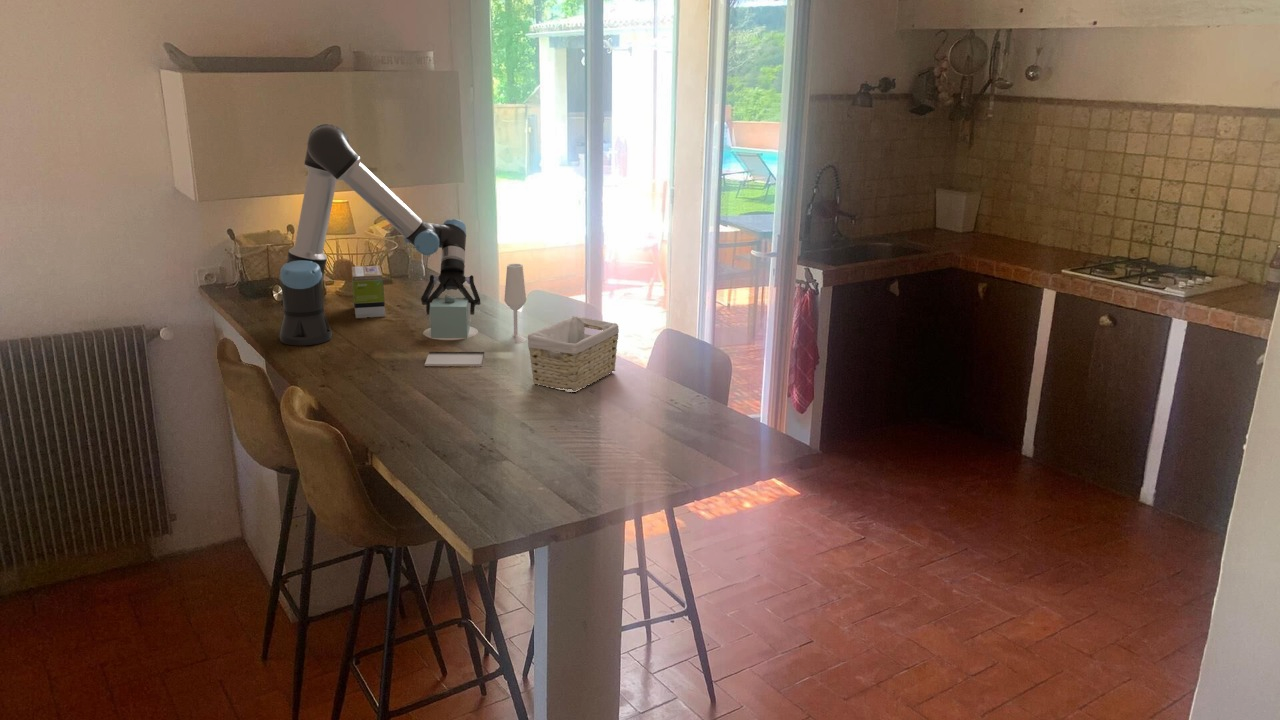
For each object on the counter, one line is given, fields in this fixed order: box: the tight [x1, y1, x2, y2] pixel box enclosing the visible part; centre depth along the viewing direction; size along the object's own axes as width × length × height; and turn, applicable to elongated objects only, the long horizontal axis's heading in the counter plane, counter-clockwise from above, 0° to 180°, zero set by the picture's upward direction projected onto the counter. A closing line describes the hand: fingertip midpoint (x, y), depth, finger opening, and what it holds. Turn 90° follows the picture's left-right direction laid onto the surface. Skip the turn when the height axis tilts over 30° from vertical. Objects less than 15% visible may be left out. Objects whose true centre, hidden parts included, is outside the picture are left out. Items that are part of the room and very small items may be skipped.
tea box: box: [350, 265, 386, 319], centre depth 322 cm, size 15×10×15 cm, turn 18°
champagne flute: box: [503, 263, 527, 344], centre depth 294 cm, size 7×7×24 cm
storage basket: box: [527, 315, 620, 391], centre depth 262 cm, size 24×16×15 cm
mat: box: [424, 351, 485, 368], centre depth 279 cm, size 16×16×1 cm
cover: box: [429, 295, 471, 339], centre depth 296 cm, size 11×11×12 cm
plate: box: [422, 326, 479, 341], centre depth 299 cm, size 17×17×5 cm
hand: (449, 322), depth 295 cm, fingers closed on cover, 11 cm apart
